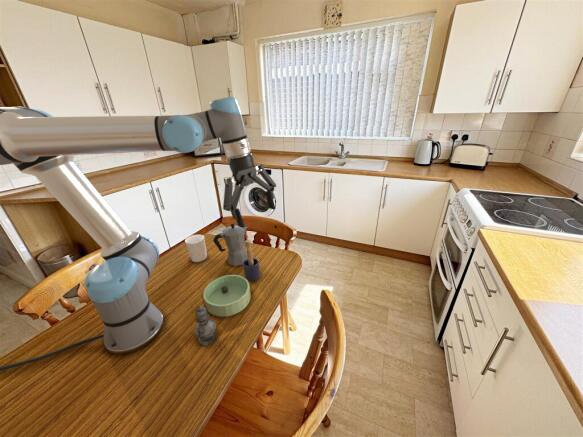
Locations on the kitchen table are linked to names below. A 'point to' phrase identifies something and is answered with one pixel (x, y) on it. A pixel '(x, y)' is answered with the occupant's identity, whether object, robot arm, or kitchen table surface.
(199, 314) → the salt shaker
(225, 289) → the bead
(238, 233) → the coffeepot
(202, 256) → the white cup
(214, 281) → the bowl
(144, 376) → the kitchen table surface
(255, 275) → the utensil pot
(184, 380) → the kitchen table surface
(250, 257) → the stirring stick
